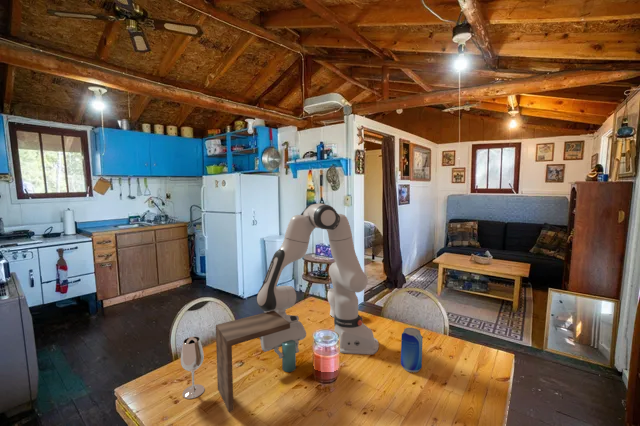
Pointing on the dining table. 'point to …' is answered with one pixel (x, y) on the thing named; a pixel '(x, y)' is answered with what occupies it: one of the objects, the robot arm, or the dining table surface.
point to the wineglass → (192, 364)
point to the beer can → (411, 350)
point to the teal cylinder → (289, 356)
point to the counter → (237, 334)
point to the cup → (331, 301)
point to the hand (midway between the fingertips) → (289, 355)
